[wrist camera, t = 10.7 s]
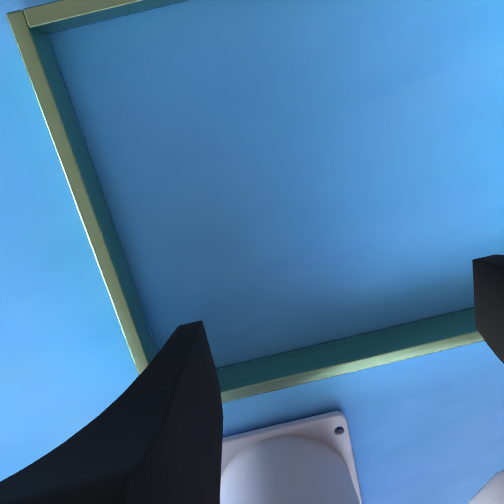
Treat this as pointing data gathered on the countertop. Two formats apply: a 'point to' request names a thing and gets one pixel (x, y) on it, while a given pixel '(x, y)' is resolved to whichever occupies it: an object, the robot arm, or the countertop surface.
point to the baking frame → (114, 263)
